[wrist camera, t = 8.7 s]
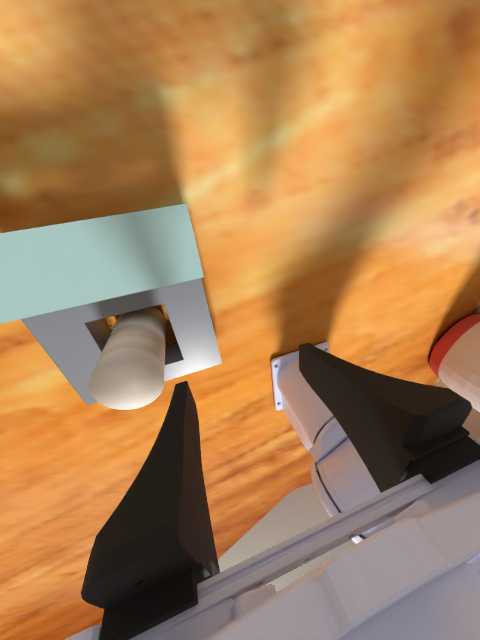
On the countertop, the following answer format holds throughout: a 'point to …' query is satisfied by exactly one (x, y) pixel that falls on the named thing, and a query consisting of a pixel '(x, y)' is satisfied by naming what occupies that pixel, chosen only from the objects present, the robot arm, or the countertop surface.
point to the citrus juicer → (460, 359)
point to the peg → (131, 361)
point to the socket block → (107, 287)
